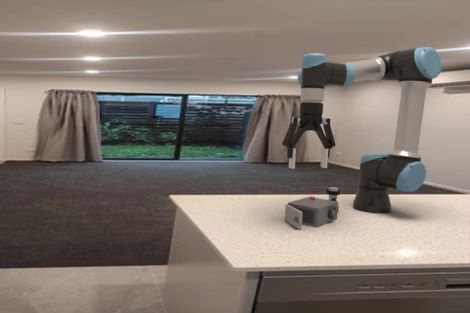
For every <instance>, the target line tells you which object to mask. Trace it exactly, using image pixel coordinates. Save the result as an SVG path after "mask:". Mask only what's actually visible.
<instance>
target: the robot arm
mask: <svg viewBox="0 0 470 313" xmlns="http://www.w3.org/2000/svg"><path fill="white" fill-rule="evenodd" d="M301 63H302V64H301V69H300V70H299V71H298V73H297V82H298V84H299V85H300V101H301V102H300V104H299V117H298V116H292V117H290V122H289V123H290V124H289V126H288V128H287V131H286V133H285V136H284V139H283V141H282V143H281V146H283V147H286V149H287V154H286V156H287V158H288V168H289V169H292V170H293V169H296V152H297V151H296V150H297V149H296V148H295V147H296V145H297V144H298V142H299V140H300V139H301V137H302V136H303V135H304V133H306V131H309V132H310V131H312V132H314V133H316V136H317V137H318V139H319V141H320V143H321V145H322V146H323V147H321V154H320V168H323V169H327V168H328V159H330V156H331V155H330V153H331V152H330V151H331V150H332V149H333V147H336V145H337V144H336V141H335V138H334V134H333V130H332V127H331V118H327V117H325V118H323V114H324V103H323V102H324V101H325V88H327V87H340V88H343V87H344V88H346V87H350V86H351V85H353V83H354V82H360V81H367V80H371V81H372V82H373V81H374V82H378V81H393V82H395V81H397V82H398V85H399V86H400V87H401V91H400V92H401V93H400V101H399V105H398V106H399V107H398V115H397V122H396V131H395V136H394V144H393V149H392V150H391V151H390V152H389V153H382V154H380V153H378V154H377V153H376V154H372V153H371V154H363V155H362V156H361V157H360V163H359V177H358V189H357V192H356V194H355V196H354V200H353V202H352V208H354V209H355V210H358V211H362V212H367V213H375V214H379V213H380V214H381V213H383V214H384V213H390V212H391V211H392V204H391V199H390V195H389V189H394V190H399V191H401V192H408V193H410V192H416V191H417V190H418V189H420V187H421V186H422V185H424V182H425V180H426V176H427V168H426V166H425V164H424V163H422V162H421V161H422V156H421V155H420V154H419V153H418V152H419V145H420V138H421V130H422V124H423V116H424V108H425V102H426V94H427V90H428V89H429V88H430V87H432V84H433V79H436V78H437V77H439V75H440V74H441V71H442V60H441V56H440V54H439V53H438V51H437V50H436V49H435V48H433V47H429V46H425V47H416V48H409V49H402V50H396V51H393V52H392V51H391V52H389V53H386V54H382V55H376V56H371V57H370V59H365V60H358V61H348V62H347V61H346V62H341V63H339V62H330V61H328V60H327V55H326V54H325V53H319V52H310V53H306V54H304V55H303V57H302V62H301ZM298 124H300V125H299V126H298ZM321 125H322V126H321ZM297 126H298V128H297ZM296 128H297V130H296Z"/></svg>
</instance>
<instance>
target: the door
mask: <svg viewBox="0 0 470 313" xmlns="http://www.w3.org/2000/svg"><path fill="white" fill-rule="evenodd" d="M284 206H285V207H284V209H285V210H284V221H285V222H287V223H288V224H290V225H292V226H293V227H295V228H296V229H298V230H302V228H303V224H302V216H303V212H302V211H300V210H298V209H296V208H294V207H292V206H290V205H288V203H287V204H285V205H284Z"/></svg>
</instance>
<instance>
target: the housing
mask: <svg viewBox="0 0 470 313" xmlns="http://www.w3.org/2000/svg"><path fill="white" fill-rule="evenodd" d="M287 204H288V205H290V206H292V207H294V208H296V209H298V210H300V211H302V212H303V216H302V225H304V224H305V225H304V226H310V227H313V226H314V228H319V227H322V226H324V225H326V224H329V223H332V222H334V221H336V220H338V214H339V211H338V207H339V201H337V202H336V201H331V200H329V199H324V198H318V197H315V196H313V195H311V196H306V197H304V198H301V199H300V198H299V199H296V200H293V201H290V202H287Z"/></svg>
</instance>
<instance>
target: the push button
mask: <svg viewBox="0 0 470 313" xmlns="http://www.w3.org/2000/svg"><path fill="white" fill-rule="evenodd" d="M340 193H341V190H339V187H336V186H329V187H328V189H326V194H327V195H328V200H331V201H336V202H338V196H339V195H340ZM339 208H340V207H339V206H338V212H339Z"/></svg>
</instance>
